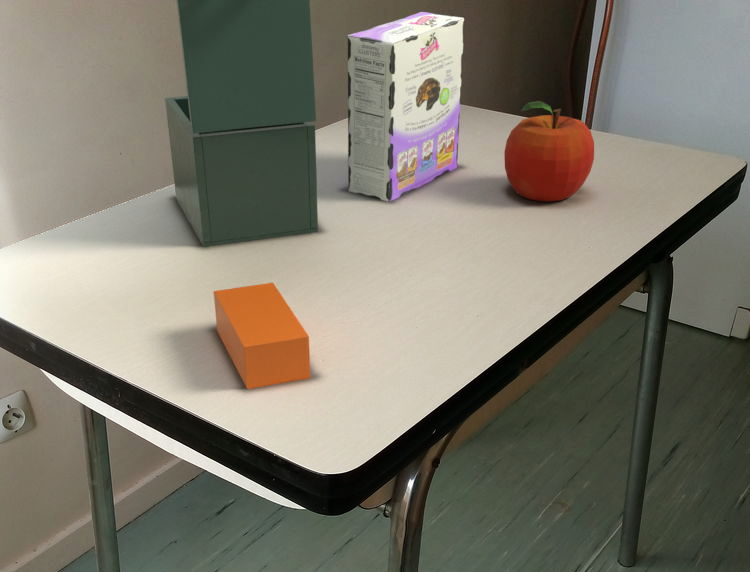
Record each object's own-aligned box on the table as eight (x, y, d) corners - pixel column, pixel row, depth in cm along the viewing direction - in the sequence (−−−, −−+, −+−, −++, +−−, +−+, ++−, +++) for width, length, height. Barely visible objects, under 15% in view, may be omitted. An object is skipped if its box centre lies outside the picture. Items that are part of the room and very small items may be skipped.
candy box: (416, 161, 119) (421, 9, 109) (458, 171, 116) (467, 16, 106) (345, 194, 110) (344, 32, 100) (389, 206, 107) (392, 40, 97)
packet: (247, 393, 76) (243, 346, 74) (217, 335, 84) (213, 290, 81) (310, 382, 77) (309, 336, 75) (275, 326, 85) (273, 282, 83)
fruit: (597, 212, 106) (610, 114, 100) (507, 212, 106) (515, 115, 100) (579, 180, 114) (591, 88, 108) (495, 181, 114) (502, 88, 108)
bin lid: (170, -45, 84) (182, -42, 80) (304, -52, 87) (321, -49, 83) (191, 131, 91) (202, 142, 87) (313, 119, 94) (330, 129, 90)
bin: (176, 202, 108) (164, 97, 101) (281, 190, 111) (276, 87, 104) (204, 251, 97) (192, 137, 91) (318, 235, 101) (315, 125, 94)
